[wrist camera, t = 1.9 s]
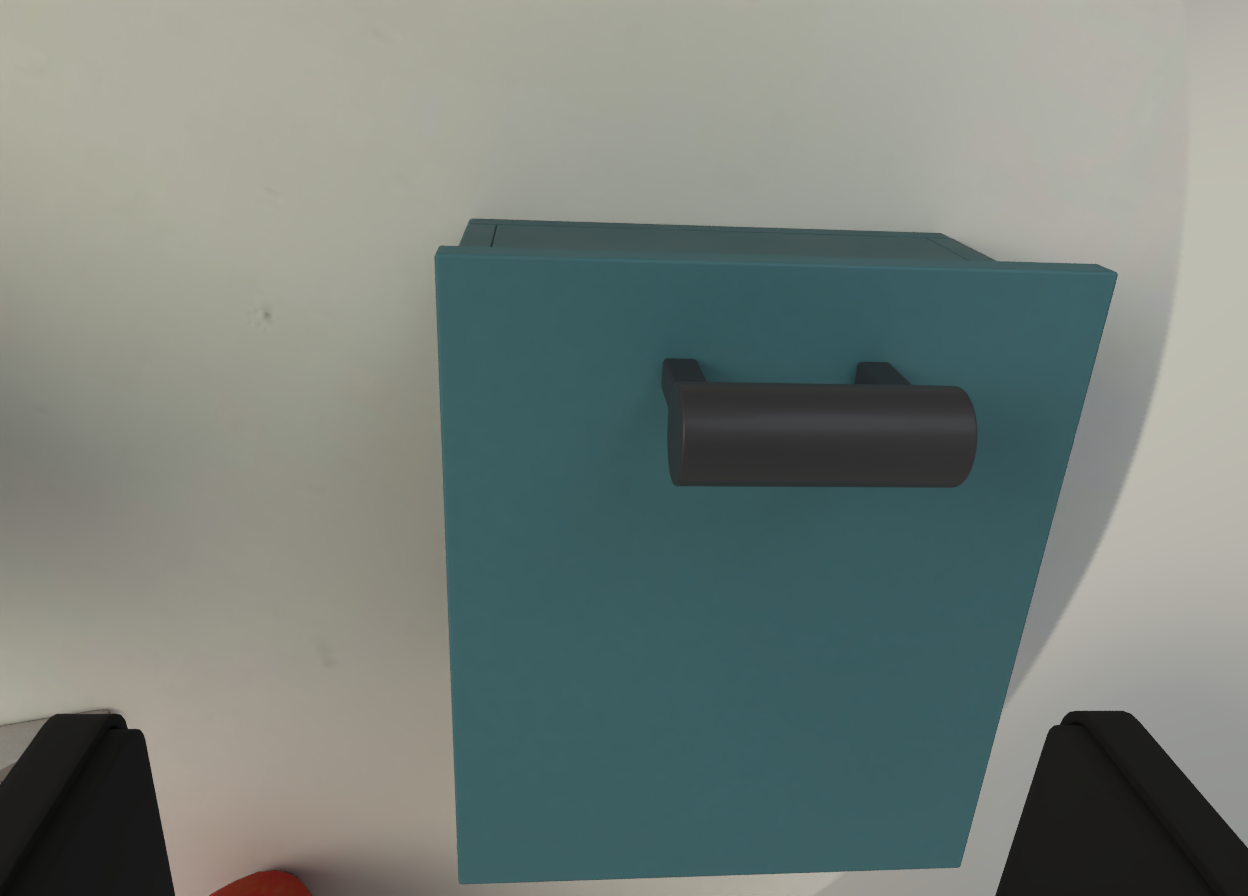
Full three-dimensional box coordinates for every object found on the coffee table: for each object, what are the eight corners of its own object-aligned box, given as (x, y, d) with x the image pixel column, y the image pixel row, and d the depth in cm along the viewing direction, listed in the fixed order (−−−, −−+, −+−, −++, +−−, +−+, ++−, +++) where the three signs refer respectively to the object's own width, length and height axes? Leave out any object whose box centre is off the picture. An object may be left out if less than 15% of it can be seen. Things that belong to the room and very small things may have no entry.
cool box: (468, 217, 26) (439, 288, 18) (942, 232, 27) (1086, 305, 20) (479, 675, 32) (461, 859, 25) (861, 670, 33) (948, 844, 26)
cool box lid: (438, 245, 18) (404, 312, 14) (1098, 263, 19) (1261, 331, 15) (460, 860, 25) (443, 1037, 20) (949, 845, 26) (1031, 1009, 22)
